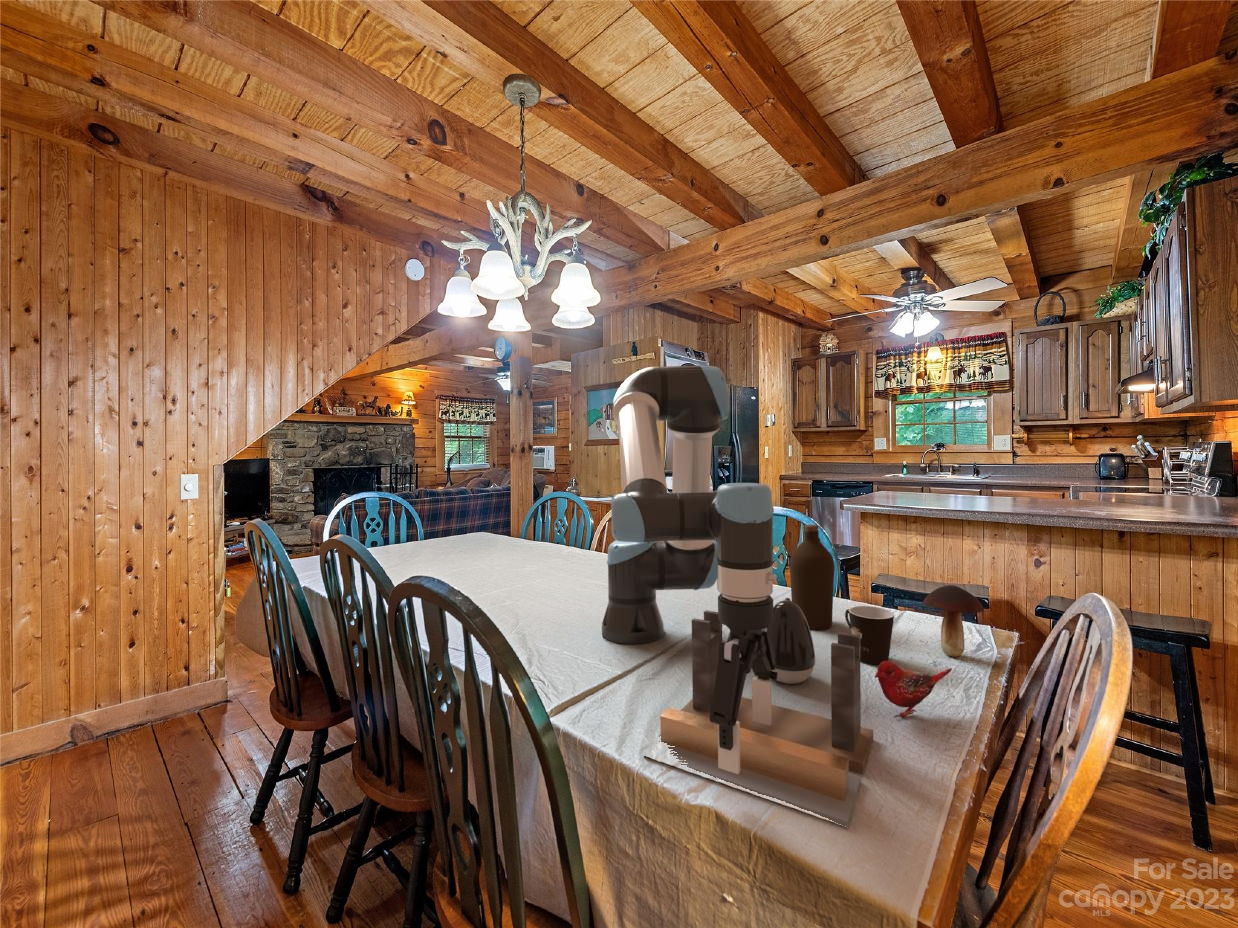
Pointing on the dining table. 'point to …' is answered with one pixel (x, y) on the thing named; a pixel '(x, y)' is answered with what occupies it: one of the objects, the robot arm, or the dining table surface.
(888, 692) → the decorative bird figurine
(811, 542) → the olive oil
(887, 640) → the coffee mug
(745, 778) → the rubber mat
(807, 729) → the rail stand
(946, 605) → the decorative mushroom
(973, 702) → the dining table surface
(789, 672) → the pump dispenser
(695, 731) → the copper rail
